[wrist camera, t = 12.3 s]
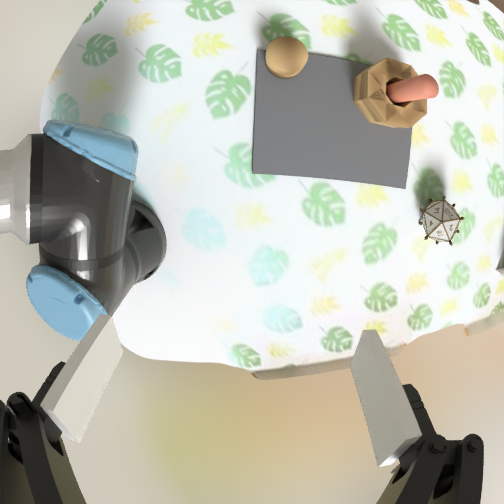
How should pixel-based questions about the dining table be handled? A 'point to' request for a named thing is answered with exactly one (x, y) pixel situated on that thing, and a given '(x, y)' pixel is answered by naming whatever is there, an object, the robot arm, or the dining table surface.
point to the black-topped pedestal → (501, 271)
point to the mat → (323, 127)
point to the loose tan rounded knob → (285, 57)
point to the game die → (440, 221)
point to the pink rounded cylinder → (412, 89)
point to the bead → (376, 101)
